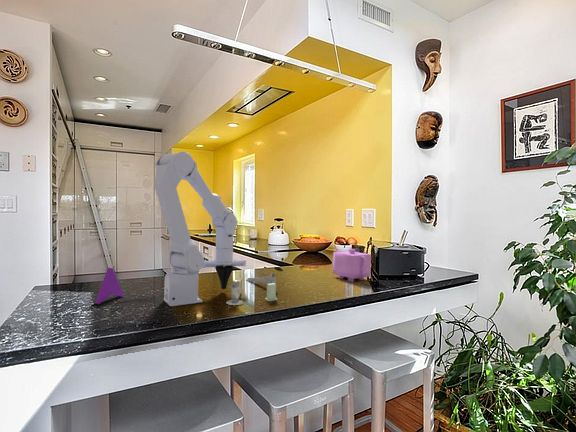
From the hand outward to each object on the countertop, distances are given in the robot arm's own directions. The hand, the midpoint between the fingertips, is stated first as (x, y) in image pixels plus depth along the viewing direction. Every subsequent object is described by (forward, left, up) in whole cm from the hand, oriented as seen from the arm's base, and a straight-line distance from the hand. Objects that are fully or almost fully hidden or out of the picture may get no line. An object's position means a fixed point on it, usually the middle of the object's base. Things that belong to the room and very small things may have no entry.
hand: (223, 288), depth 112 cm
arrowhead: (-33, +8, -2) cm, 34 cm away
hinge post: (-2, -13, -1) cm, 14 cm away
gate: (+2, -7, -1) cm, 7 cm away
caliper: (+16, +4, -2) cm, 16 cm away
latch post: (+9, -15, -1) cm, 18 cm away
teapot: (+56, -1, -2) cm, 56 cm away
